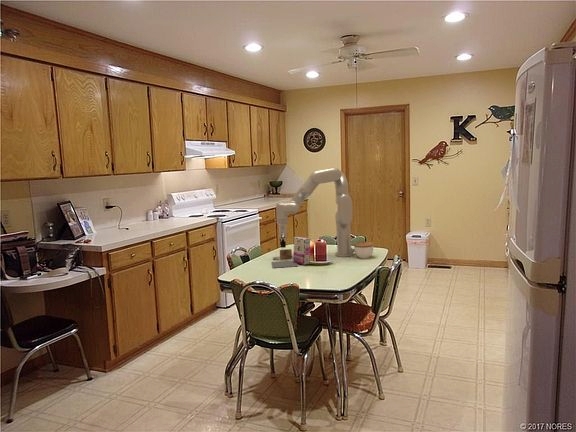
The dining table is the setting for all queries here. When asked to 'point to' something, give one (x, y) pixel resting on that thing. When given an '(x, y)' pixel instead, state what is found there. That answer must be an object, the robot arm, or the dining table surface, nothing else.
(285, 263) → the charcoal mat
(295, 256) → the candy bar box
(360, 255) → the lidded bowl
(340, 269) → the dining table surface
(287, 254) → the turner
